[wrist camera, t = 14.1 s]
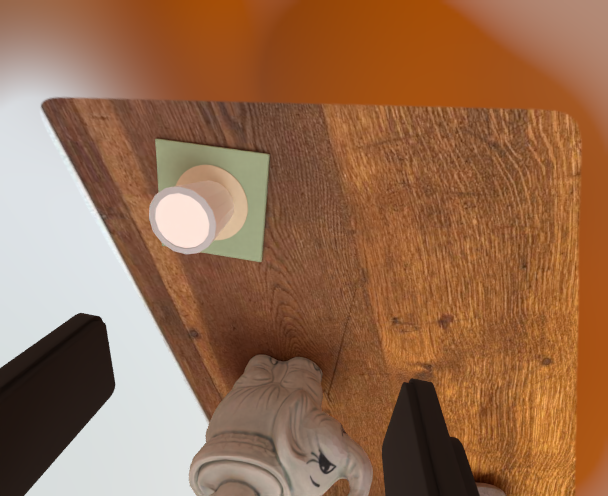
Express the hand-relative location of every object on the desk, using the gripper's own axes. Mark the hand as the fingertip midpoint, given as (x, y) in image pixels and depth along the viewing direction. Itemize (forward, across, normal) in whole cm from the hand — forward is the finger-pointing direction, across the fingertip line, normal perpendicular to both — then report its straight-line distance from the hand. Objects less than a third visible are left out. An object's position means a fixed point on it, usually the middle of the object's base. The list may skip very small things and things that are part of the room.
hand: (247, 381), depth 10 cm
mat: (+28, +13, +3) cm, 31 cm away
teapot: (+28, 0, +28) cm, 40 cm away
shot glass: (+27, +13, +3) cm, 30 cm away
